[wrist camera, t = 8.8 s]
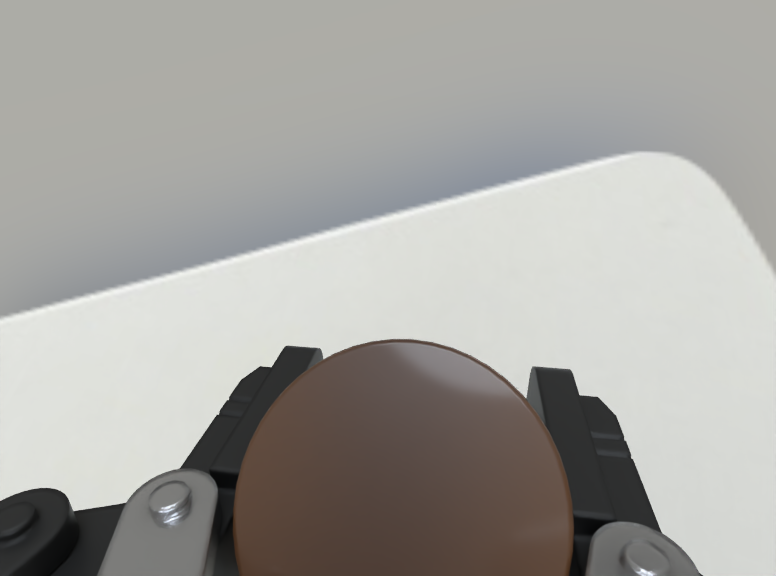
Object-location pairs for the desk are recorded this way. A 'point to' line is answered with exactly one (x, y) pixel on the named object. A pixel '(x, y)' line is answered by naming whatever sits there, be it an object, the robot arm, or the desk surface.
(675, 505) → the desk surface
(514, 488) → the brown cylinder
